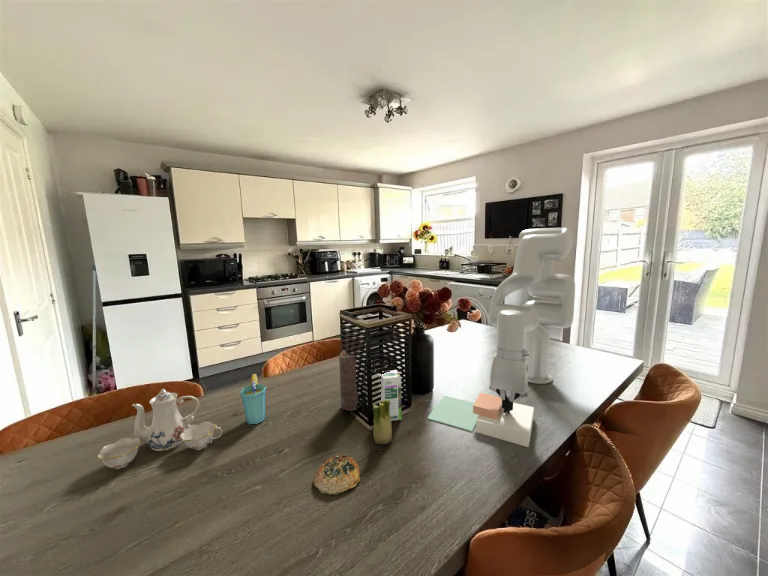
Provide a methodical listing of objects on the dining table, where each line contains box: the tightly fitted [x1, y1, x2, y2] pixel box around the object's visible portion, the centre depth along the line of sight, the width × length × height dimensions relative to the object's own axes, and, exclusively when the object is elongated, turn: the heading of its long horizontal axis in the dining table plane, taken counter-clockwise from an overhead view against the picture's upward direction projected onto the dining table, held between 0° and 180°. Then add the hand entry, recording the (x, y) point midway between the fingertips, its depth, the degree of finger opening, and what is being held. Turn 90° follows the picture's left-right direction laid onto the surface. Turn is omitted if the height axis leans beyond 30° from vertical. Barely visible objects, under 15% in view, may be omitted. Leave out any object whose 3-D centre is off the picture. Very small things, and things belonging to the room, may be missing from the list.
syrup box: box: [381, 369, 403, 422], centre depth 97 cm, size 6×6×14 cm
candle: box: [338, 350, 358, 412], centre depth 102 cm, size 8×7×20 cm
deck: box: [475, 402, 535, 448], centre depth 92 cm, size 15×14×4 cm
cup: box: [239, 373, 267, 425], centre depth 95 cm, size 14×8×15 cm, turn 27°
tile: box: [473, 392, 502, 420], centre depth 94 cm, size 9×7×2 cm
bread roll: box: [313, 454, 361, 495], centre depth 73 cm, size 11×11×5 cm
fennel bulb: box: [373, 399, 393, 445], centre depth 85 cm, size 6×5×12 cm
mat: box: [426, 395, 478, 433], centre depth 100 cm, size 16×14×1 cm
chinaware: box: [96, 388, 223, 469], centre depth 83 cm, size 28×17×17 cm, turn 118°
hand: (507, 411), depth 91 cm, fingers closed
